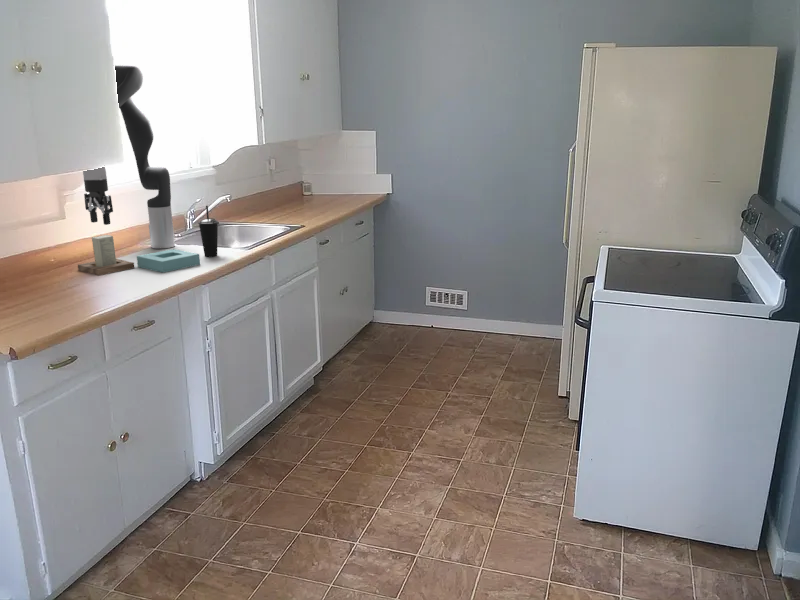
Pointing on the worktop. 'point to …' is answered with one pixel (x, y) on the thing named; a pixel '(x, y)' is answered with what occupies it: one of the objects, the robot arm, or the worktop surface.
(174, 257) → the socket block
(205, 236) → the drinking cup
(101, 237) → the skincare box
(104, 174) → the robot arm
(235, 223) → the worktop surface
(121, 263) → the frame
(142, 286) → the worktop surface
